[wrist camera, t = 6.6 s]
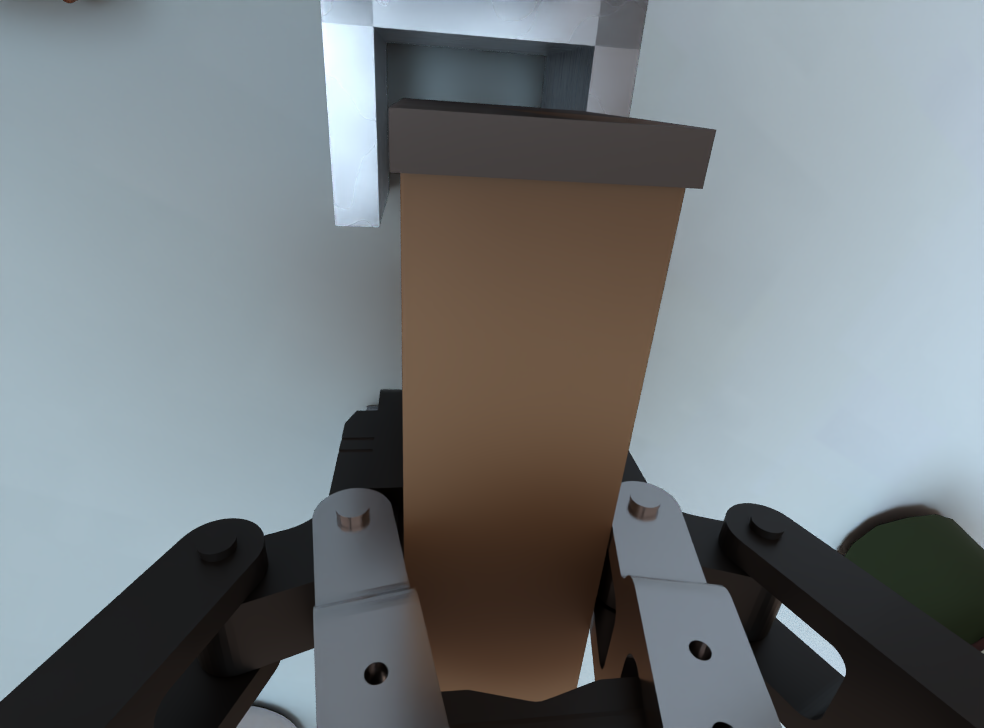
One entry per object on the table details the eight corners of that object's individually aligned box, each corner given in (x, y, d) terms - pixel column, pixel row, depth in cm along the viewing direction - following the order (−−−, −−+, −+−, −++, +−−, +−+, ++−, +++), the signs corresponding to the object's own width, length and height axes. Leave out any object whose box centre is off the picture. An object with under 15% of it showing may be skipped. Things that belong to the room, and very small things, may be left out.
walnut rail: (403, 98, 10) (388, 107, 5) (583, 110, 10) (715, 129, 6) (406, 620, 16) (401, 833, 12) (519, 613, 17) (557, 815, 12)
